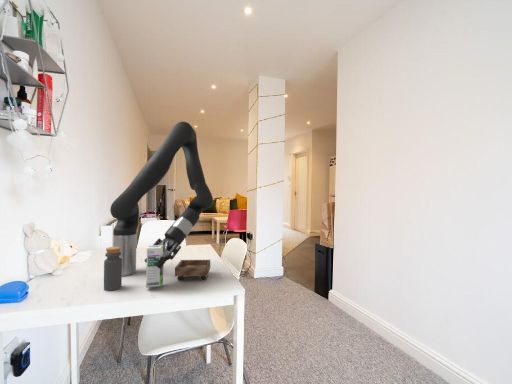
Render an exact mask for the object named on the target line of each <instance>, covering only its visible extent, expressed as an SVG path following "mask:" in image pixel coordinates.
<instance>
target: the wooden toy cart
mask: <svg viewBox="0 0 512 384" xmlns="http://www.w3.org/2000/svg"><path fill="white" fill-rule="evenodd" d="M210 269H211V259H180V261H179V262H178V264H176V266H175V268H174V277H177V281H179V282H182V281H183V280H184V278H185V277H199V280H200V281H202V282H203V281H205V280H206V279H207V277H208V275H209V273H210Z"/></svg>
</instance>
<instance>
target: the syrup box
mask: <svg viewBox="0 0 512 384" xmlns="http://www.w3.org/2000/svg"><path fill="white" fill-rule="evenodd" d="M163 250H164V245H153V244H152V245H147V248H146V258H147V263H146V279H145V280H146V282H145V287H146V288H152V287H153V288H154V287H163V283H164V265H163V266H162V267H161V268H158V267H157V266H156V264H157V262H158V261H159V260H160V259H161V257H163V254H164V251H163Z"/></svg>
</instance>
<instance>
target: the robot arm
mask: <svg viewBox="0 0 512 384" xmlns="http://www.w3.org/2000/svg"><path fill="white" fill-rule="evenodd" d="M197 139H198V138H197V133H196V130H195V129H194V127H193V126H192V125H191V124H190V123H189V122H187V121H178V122H177V123H175V125H173V127H171V130H170V132H168V134H167V136H166V138H165V139H164V140H163V142H162V143H161V145H160V146H159V147H158V148H157V149H156V151H155V152H154V153H153V155H152V156H151V157H150V158H149V159H148V160H147V162H146V163H145V164H144V166H142V168H141V169H140V171H139V172H138V173H137V175H135V176H134V179H132V181H131V182H130V184H129V185H128V186H127V187H126V189H125V190H123V192H122V193H121V194H120V195H118V197H117V198H115V200H114V201H113V202H112V203H111V205H110V209H109V211H110V215H111V216H112V217H113V218H114V219H116V220H117V221H116V225H115V227H114V228H113V229H112V230H113V233H112V238H113V239H112V247H120V252H121V255H120V256H119V257H120V258H121V259H122V277H127V276H131V275H134V274H135V273H136V272H137V230H138V227H139V220H140V219H139V217H140V214H139V213H140V206H139V204H138V203H139V202H140V201H141V199H142V198H143V197H144V196H145V195H146V194H148V193H149V191H151V190H152V189H153V188H155V187H156V186H157V185H158V184H160V182H161V181H162V180H163V178H164V177H165V176H166V175H167V173H168V171H169V170H170V168H171V165H172V163H173V161H174V158H175V156H176V154H177V153H178V151H179V150H180V149H182V151H183V153H184V154H183V155H184V158H185V167H186V168H185V169H186V175H187V179H188V183H189V187H190V189H192V190H194V192H195V194H196V196H194V197H193V199H191V201H190V202H189V204H188V205H187V207H186V209H185V210H184V211H183V212H182V213H181V215H179V217H178V218H176V220H175V221H174V222H173V223H172V224H171V226H170V227H169V228H168V229H167V230H166V231H165V233H164V238H163V239H161V238H158V239H157V240H156V241H155V242H154V243H153V244H152V245H164V250H163V251H164V254H163V257H161V259H160V260H159V261H158V262H157V264H156V266H157V267H158V268H161V267H162V266H163V267H164V265H165V264H166V262H167V261H169V260H170V261H171V260H174V258H175V257H176V256H177V254H178V252H179V251H180V250H181V249H182V245H181V244H182V243H183V242H184V241H185V239H186V238H187V237H188V235H189V234H190V233H191V231H192V230H193V227H195V225H196V224H197V222H198V221H199V219H200V215H201V214H202V213H203V212H204V210H207V209H210V208H211V207H212V205H213V204H214V198H213V195H212V192H211V190H210V188H209V186H208V184H207V183H206V179H205V175H204V171H203V167H202V164H201V160H200V156H199V151H198V150H199V149H198V141H197ZM144 263H146V264H147V257H146V258H145V259H144Z"/></svg>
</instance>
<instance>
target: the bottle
mask: <svg viewBox="0 0 512 384" xmlns="http://www.w3.org/2000/svg"><path fill="white" fill-rule="evenodd" d="M105 249H106V253H105V254H104V255H105V256H104V257H106V259H105V260H104V261H103V291H108V292H110V291H111V292H112V291H117V290H120V289H121V288H122V281H123V276H122V259H121V258H120V257H119V256H120V255H121V252H120V247H113V246H110V247H106V248H105Z"/></svg>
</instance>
